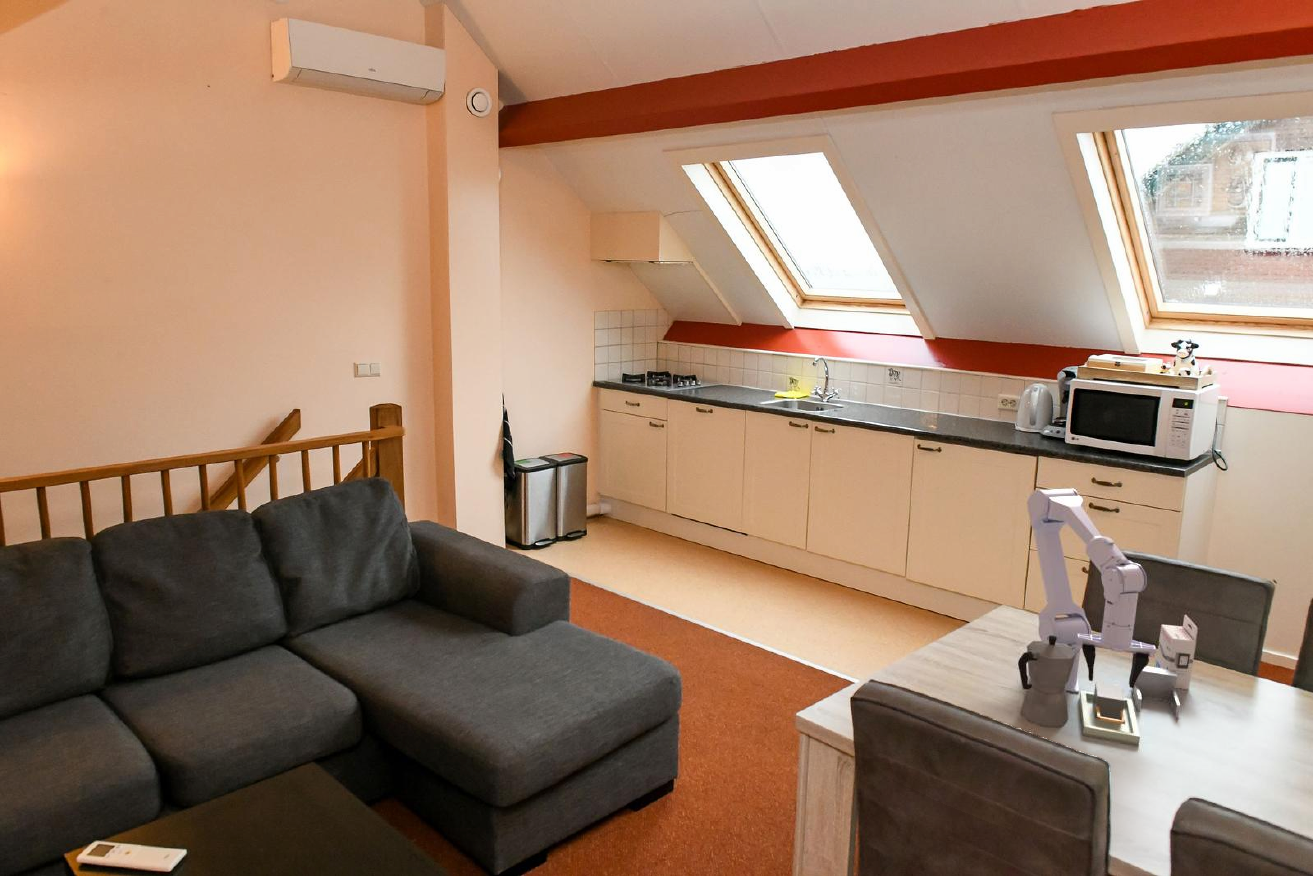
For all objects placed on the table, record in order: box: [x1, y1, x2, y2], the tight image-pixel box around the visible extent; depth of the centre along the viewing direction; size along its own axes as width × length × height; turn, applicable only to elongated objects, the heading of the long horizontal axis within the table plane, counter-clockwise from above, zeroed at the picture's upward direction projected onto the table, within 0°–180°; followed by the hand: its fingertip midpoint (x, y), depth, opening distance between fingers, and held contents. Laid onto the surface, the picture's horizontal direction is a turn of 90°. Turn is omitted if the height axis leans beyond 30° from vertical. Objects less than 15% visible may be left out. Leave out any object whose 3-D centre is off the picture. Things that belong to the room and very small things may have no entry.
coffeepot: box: [1017, 636, 1076, 728], centre depth 192 cm, size 15×9×18 cm, turn 116°
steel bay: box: [1130, 665, 1181, 720], centre depth 200 cm, size 8×11×6 cm
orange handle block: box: [1093, 681, 1125, 724], centre depth 192 cm, size 5×12×5 cm, turn 158°
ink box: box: [1155, 614, 1199, 690], centre depth 211 cm, size 9×5×15 cm, turn 168°
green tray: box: [1078, 689, 1141, 747], centre depth 193 cm, size 10×17×2 cm, turn 158°
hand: (1110, 682), depth 194 cm, fingers open, 7 cm apart
